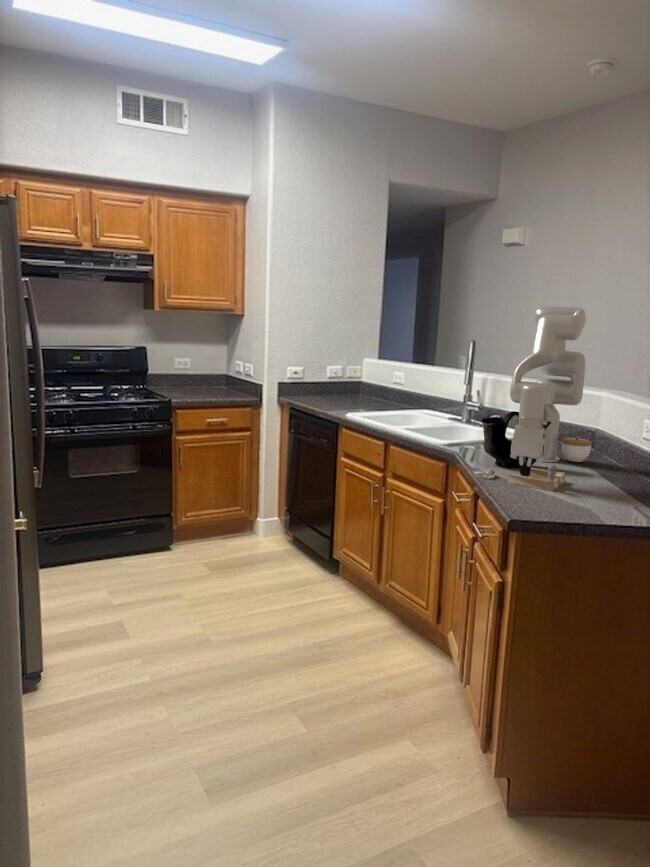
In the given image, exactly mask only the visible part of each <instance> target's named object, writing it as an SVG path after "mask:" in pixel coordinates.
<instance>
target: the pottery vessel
mask: <svg viewBox="0 0 650 867" xmlns="http://www.w3.org/2000/svg"><path fill="white" fill-rule="evenodd" d="M515 416H517V417H518V418H519V411H511V412H509V413H506V415H504V416H503V417H500V416H499V417H496V416H493V417H484V418H482V419H480V420H481V423H482V429H483V430H482V432H483V436H484V437H483V438H484V441H483V449H484V452H485V453H486V454H488V455H489V456H490V457H492V458H493V459H495V461H494V464H496V465H498V464H500V466H503V467H505V468H518V467H521V465H520V464H519V462H518V461H517V460H516V459H514V458H511V457H510V454H511V445H512V440H511V439H509V438H507V435H506V433H507V429H508V426H509V423H510V421H511V420H512V419H513V417H515ZM550 424H551V422H548V421H547V425H543V426H542V427H543V428H544V429H545V430H546V429H547V427H548V426H549V425H550ZM528 458H529V457H525V463H526V464H527V461H528Z"/></svg>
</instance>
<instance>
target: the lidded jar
mask: <svg viewBox="0 0 650 867" xmlns="http://www.w3.org/2000/svg"><path fill="white" fill-rule="evenodd" d="M561 442H562V443H561V452H562V454H563V456H564V457H565V459H566V460H567V461H570V462H576V463H581V462H584V461H585V460H586V459H587V458H588V457H589V455H590V453H591V450H592V444H593V442H592V441H591V440H589V439H585V438H580V436H578V435H576V436H575V437H564V438H562V440H561Z"/></svg>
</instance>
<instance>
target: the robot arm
mask: <svg viewBox="0 0 650 867" xmlns="http://www.w3.org/2000/svg"><path fill="white" fill-rule="evenodd" d="M586 317H587V315H586V311H585V310H584V309H583V308H582V307H574V306H573V307H572V306H540V307H538V308H537V309H535V311H534V321H535V329H534V330H535V331H534V335H533V341H532V345H531V346H532V347H531V352H530V354H529V355H527V356H526V357H525V358H524V359H522V360H521V362H520V363H519V364H518V365H517V366H516V368H515V369H514V372H513V374H512V378H511V379H512V380H511V384H510V388H509V389H510V390H509V397H510V400H511V401H512V402H513V403H516V404H519V411H518V412H519V417H518V422H517V424H515V427H514V431H513V435H512V440H511V441H512V445H511V454H510V457H511V458H514V459H516V460H517V461H518V462H519V464H520V466H519V467H520V468H519V469H520V470H519V475H520V476H526V477H528V476H530V471H531V468H532V465H534V464H536V463H547V462H554V463H558V461H559V462H560V461H561V460H560V459H561V458H560V457H559V456H557V449H558V438H559V430H560V420H561V415H560V412H559V411H558V409H557V407H556V405H562V406H563V405H564V406H577V405H580V403H581V402H582V399H583V397H584V396H583V395H584V384H585V374H586V357H585V355H584V354H583V353H582V352H579V351H571V350H570V351H569V350H566V344H567V341H577V340H578V339H579V338H580V336H581V335H582V331H583V329H584V327H585V324H586V321H587V320H586V319H587V318H586ZM537 368H538V369H540V372H541V373H542V374H543V375H546V376H552V377H567V378H570V379H561V378H551V377H550V378H549V377H547V378H543V377H542V378H540V379H538V380H537V381H536V382H535V381H527V380H526V381H525V380H524V381H523V380H522V379H523V377H524V376H525V375H527V373H528V372H530V371H532V370H535V369H537ZM547 421H548V422H551V424H550V425H549V426H548V427H547V429H546V430H545V429H544V428H543V427H542V426H543V425H547ZM525 457H529V458H528V461H527V464H526V463H525Z"/></svg>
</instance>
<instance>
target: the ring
mask: <svg viewBox="0 0 650 867" xmlns="http://www.w3.org/2000/svg"><path fill="white" fill-rule="evenodd" d="M473 476H474V477H478V478H482V479H492V478H494V477H495V476H496V471H495V470H494V471H493V470H490V469H484V470H479V471H473Z"/></svg>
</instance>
